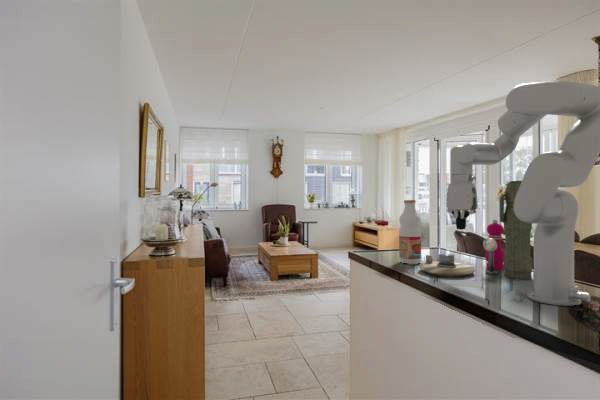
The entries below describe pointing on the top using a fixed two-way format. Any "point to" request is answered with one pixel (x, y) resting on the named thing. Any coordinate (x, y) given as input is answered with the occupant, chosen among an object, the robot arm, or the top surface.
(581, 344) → the top surface
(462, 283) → the top surface
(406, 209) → the fruit juice
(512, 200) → the thermos
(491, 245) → the globe topped trophy
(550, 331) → the top surface
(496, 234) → the pepper mill
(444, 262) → the cover
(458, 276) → the turntable base
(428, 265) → the turntable
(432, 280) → the top surface
